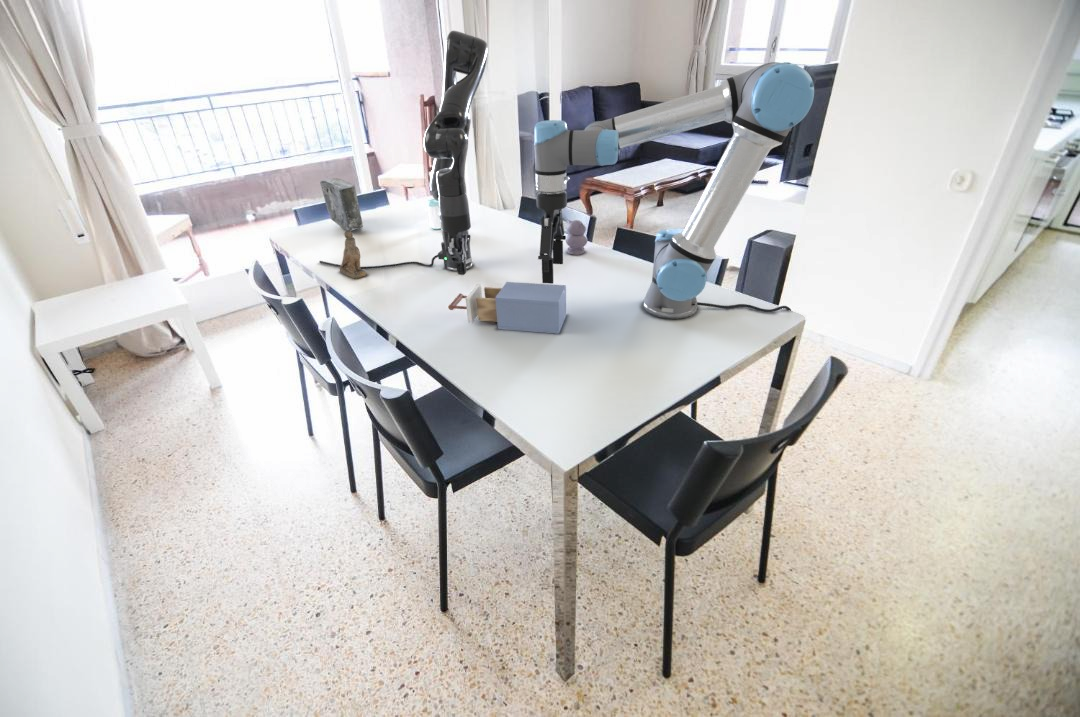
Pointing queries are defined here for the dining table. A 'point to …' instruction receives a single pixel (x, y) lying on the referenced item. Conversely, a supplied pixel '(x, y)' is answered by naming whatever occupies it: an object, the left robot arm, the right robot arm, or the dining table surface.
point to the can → (434, 214)
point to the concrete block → (342, 203)
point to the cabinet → (531, 307)
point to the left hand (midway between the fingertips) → (462, 273)
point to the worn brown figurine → (351, 258)
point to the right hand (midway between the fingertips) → (553, 273)
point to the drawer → (479, 304)
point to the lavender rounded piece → (576, 237)
